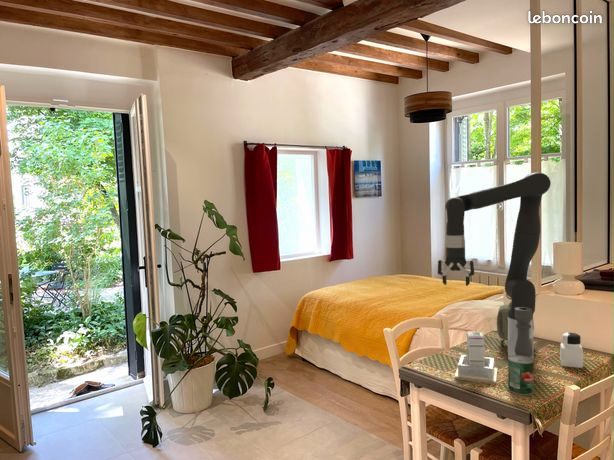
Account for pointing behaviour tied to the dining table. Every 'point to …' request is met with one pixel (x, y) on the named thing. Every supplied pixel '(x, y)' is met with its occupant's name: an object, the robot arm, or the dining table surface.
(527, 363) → the canned tomato
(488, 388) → the dining table surface
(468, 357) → the syrup box
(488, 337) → the dining table surface
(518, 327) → the candle holder
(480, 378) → the rectangular hollow frame
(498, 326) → the tabletop clock
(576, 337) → the medicine bottle
